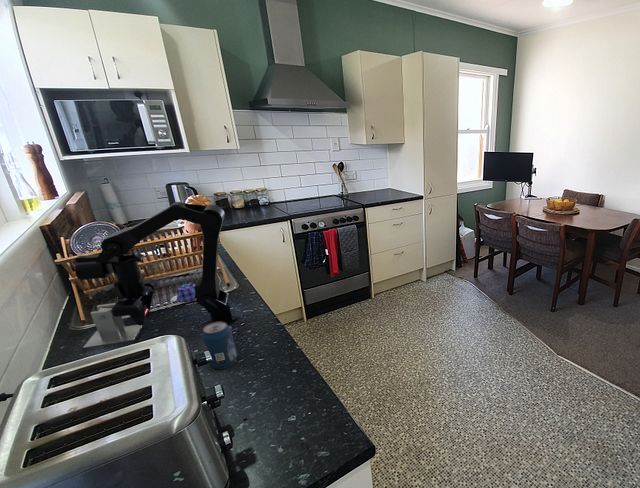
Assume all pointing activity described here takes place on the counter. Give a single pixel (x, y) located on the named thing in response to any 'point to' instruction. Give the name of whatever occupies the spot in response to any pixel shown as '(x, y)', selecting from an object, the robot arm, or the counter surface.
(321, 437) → the counter surface
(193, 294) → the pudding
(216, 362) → the soda can
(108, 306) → the switch bracket
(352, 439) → the counter surface
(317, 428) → the counter surface
